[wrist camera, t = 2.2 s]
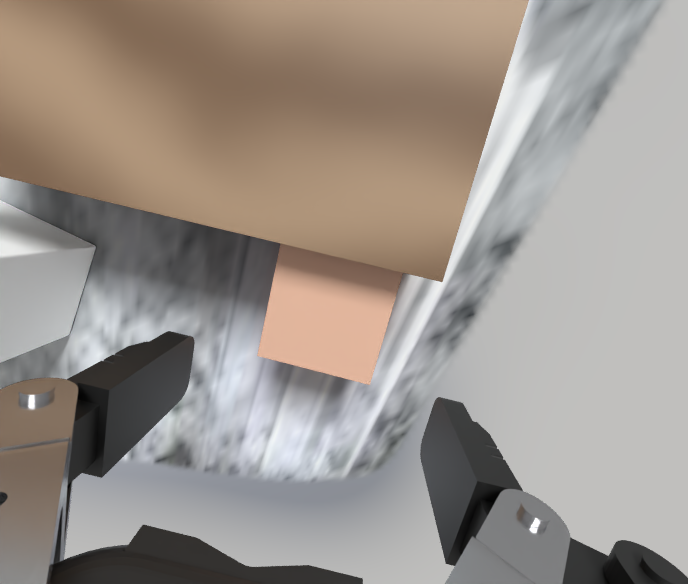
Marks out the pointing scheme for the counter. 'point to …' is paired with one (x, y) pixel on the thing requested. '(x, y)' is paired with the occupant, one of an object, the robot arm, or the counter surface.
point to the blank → (328, 313)
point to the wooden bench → (263, 114)
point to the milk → (38, 281)
